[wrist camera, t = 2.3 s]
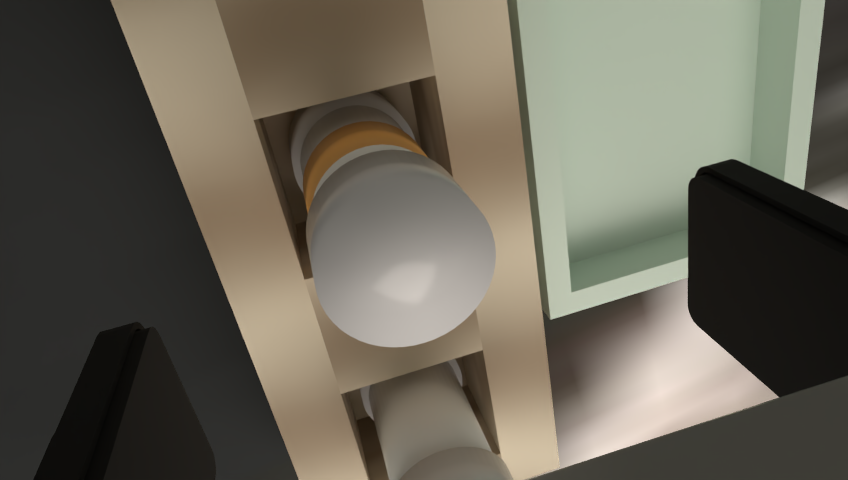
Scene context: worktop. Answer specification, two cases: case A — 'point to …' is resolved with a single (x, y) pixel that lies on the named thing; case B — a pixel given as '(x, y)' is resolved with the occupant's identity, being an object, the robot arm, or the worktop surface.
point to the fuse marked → (386, 225)
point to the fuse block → (287, 214)
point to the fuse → (430, 427)
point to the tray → (649, 126)
